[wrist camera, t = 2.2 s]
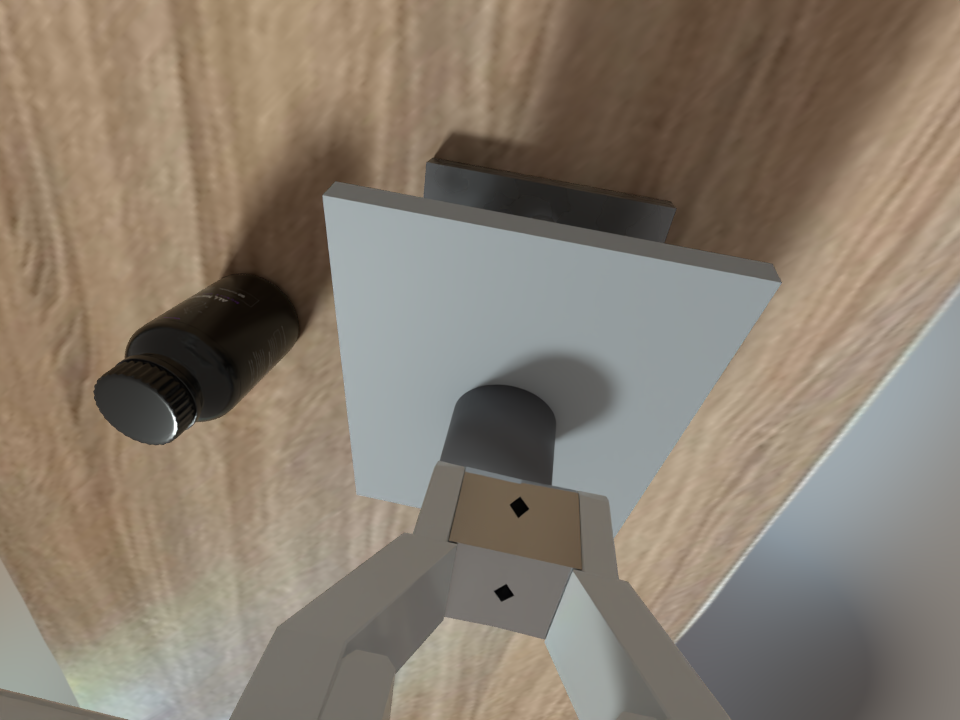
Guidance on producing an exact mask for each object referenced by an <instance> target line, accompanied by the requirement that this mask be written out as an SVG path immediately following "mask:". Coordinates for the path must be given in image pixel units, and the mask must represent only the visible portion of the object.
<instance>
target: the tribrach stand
mask: <svg viewBox="0 0 960 720" xmlns="http://www.w3.org/2000/svg"><path fill="white" fill-rule="evenodd" d="M424 198H427V199H432V200H437V201H443V202H448V203H453V204H458V205H464V206H469V207H474V208H480V209H485V210H490V211H495V212H501V213H506V214H511V215H517V216H522V217H527V218H532V219H538V220H543V221H548V222H554V223H559V224H564V225H570V226H575V227H580V228H585V229H591V230H596V231H601V232H607V233H612V234H617V235H622V236H628V237H633V238H638V239H644V240H649V241H654V242H660V243H664V242H665V239H666V237H667V234H668V231H669V228H670V225H671V223H672V220H673V217H674V214H675V211H676V209H677V208H676V207H675V206H674V205H673V204H672V202H670V201H664V200H659V199H653V198H648V197H643V196H637V195H632V194H626V193H621V192H616V191H610V190H605V189H599V188H594V187H589V186H583V185H578V184H572V183H567V182H562V181H556V180H551V179H545V178H540V177H535V176H529V175H524V174H518V173H513V172H508V171H502V170H497V169H491V168H486V167H481V166H475V165H470V164H464V163H459V162H454V161H448V160H443V159H437V158H432V159H430V160H429V161H427V163H426V175H425V186H424Z"/></svg>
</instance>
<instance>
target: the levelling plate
mask: <svg viewBox="0 0 960 720" xmlns="http://www.w3.org/2000/svg"><path fill="white" fill-rule="evenodd" d="M322 196H323V205H324V214H325V222H326V231H327V240H328V248H329V257H330V266H331V275H332V283H333V292H334V301H335V309H336V318H337V327H338V336H339V344H340V353H341V362H342V371H343V379H344V388H345V397H346V405H347V414H348V423H349V432H350V440H351V449H352V458H353V467H354V475H355V484H356V493H357V495H361V496H366V497H370V498H375V499H380V500H384V501H389V502H393V503H398V504H403V505H407V506H412V507H416V508H421V507H422V504H423V501H424V498H425V494H426V491H427V488H428V485H429V482H430V479H431V476H432V473H433V470H434V467H435V465H436V463H437V462H438V461H442V462H447V463H451V464H455V465H459V466H463V467H470V468H474V469H479V470H483V471H487V472H491V473H496V474H500V475H504V476H508V477H512V478H517V479H522V480H527V481H532V482H537V483H542V484H547V485H552V486H557V487H562V488H567V489H572V490H575V491H583V492H588V493H593V494H598V495H603V496H606V497H607V499H608V500H609V505H610V513H611V521H612V530H613V538H614V537H615V536H616V534H617V533H618V531H619V530H620V528H621V527H622V525H623V524H624V522H625V521H626V519H627V518H628V516H629V515H630V513H631V512H632V510H633V509H634V507H635V505H636V504H637V502H638V501H639V499H640V498H641V496H642V495H643V493H644V492H645V490H646V489H647V487H648V486H649V484H650V483H651V481H652V480H653V478H654V477H655V475H656V474H657V472H658V470H659V469H660V467H661V466H662V464H663V463H664V461H665V460H666V458H667V457H668V455H669V454H670V452H671V451H672V449H673V448H674V446H675V445H676V443H677V442H678V440H679V439H680V437H681V435H682V434H683V432H684V431H685V429H686V428H687V426H688V425H689V423H690V422H691V420H692V419H693V417H694V416H695V414H696V413H697V411H698V410H699V408H700V407H701V405H702V403H703V402H704V400H705V399H706V397H707V396H708V394H709V393H710V391H711V390H712V388H713V387H714V385H715V384H716V382H717V381H718V379H719V378H720V376H721V375H722V373H723V372H724V370H725V368H726V367H727V365H728V364H729V362H730V361H731V359H732V358H733V356H734V355H735V353H736V352H737V350H738V349H739V347H740V346H741V344H742V343H743V341H744V340H745V338H746V337H747V335H748V333H749V332H750V330H751V329H752V327H753V326H754V324H755V323H756V321H757V320H758V318H759V317H760V315H761V314H762V312H763V311H764V309H765V308H766V306H767V305H768V303H769V302H770V300H771V298H772V297H773V295H774V294H775V292H776V291H777V289H778V288H779V286H780V285H781V283H782V282H781V280H780V278H779V276H778V274H777V272H776V270H775V268H774V266H773V264H771V263H765V262H760V261H755V260H749V259H744V258H739V257H734V256H728V255H723V254H718V253H712V252H707V251H702V250H697V249H691V248H686V247H681V246H675V245H670V244H665V243H660V242H654V241H649V240H644V239H638V238H633V237H628V236H622V235H617V234H612V233H607V232H601V231H596V230H591V229H585V228H580V227H575V226H570V225H564V224H559V223H554V222H548V221H543V220H538V219H532V218H527V217H522V216H517V215H511V214H506V213H501V212H495V211H490V210H485V209H480V208H474V207H469V206H464V205H458V204H453V203H448V202H443V201H437V200H432V199H427V198H421V197H416V196H411V195H405V194H400V193H395V192H390V191H384V190H379V189H374V188H368V187H363V186H358V185H353V184H347V183H342V182H337V181H335V182H334V183H333V184H332V186H331V187H330V188H329V189H328V190H327V191H326V192H325V193H324V194H323V195H322ZM465 470H466V469H465Z"/></svg>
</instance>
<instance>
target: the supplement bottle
mask: <svg viewBox="0 0 960 720" xmlns="http://www.w3.org/2000/svg"><path fill="white" fill-rule="evenodd" d="M298 332H299V323H298V317H297V314H296V312H295V309H294V307H293V305H292V304H291V302H290V300H289V299H288V298H287V296H286V295H285V294H284V293H283V292H282V291H281V290H280V289H279V288H278V287H276V286H275V285H274V284H272V283H270V282H269V281H267V280H265V279H263V278H261V277H258V276H254V275H250V274H233V275H229V276H226V277H224V278H222V279H220V280H218V281H217V282H215V283H213V284H211V285H210V286H208V287H206V288H205V289H203V290H201V291H200V292H198V293H197V294H195V295H193V296H192V297H190V298H188V299H187V300H185V301H183V302H182V303H180V304H178V305H177V306H175V307H173V308H172V309H170V310H168V311H167V312H165V313H164V314H162V315H160V316H159V317H157V318H155V319H154V320H152V321H150V322H149V323H147V324H145V325H144V326H143V327H141V328H140V329H138V330H137V331H136V332H135V333H134V334H133V335H132V337H131V338H130V340H129V342H128V344H127V347H126V351H125V359H124V360H122V361H121V362H119V363H118V364H117V365H116V366H115V367H114V368H112V369H111V370H109V371H108V372H106V373H105V374H103V375H102V377H101V378H99V379H98V380H97V384H95V386H94V387H95V390H94V391H93V392H94V395H95V396H94V399H95V401H96V405H97V406H98V408H99V410H100V412H101V413H102V414H103V416H104V418H105V419H106V420H107V421H109V423H110V424H111V425H112V426H113V427H115V428H116V429H117V430H118V431H120V432H121V433H123V434H124V435H125V436H128V437H130V438H132V439H133V440H136V441H139V442H141V443H146V444H149V445H151V444H153V445H159V444H161V445H164V444H166V443H170V442H172V441H173V440H174V439H176V438H177V437H178V436H179V435H180V434H181V433H183V432H184V431H185V430H187V429H189V428H190V427H191V426H192V425H193V424H194V423H195V422H205V421H211V420H214V419H217V418H220V417H222V416H223V415H225V414H227V413H228V412H229V411H230V410H231V409H233V408H234V407H235V406H236V405H237V404H238V403H239V402H240V401H241V400H242V399H243V398H244V397H245V396H246V395H247V393H248V392H249V391H250V390H251V389H252V388H253V387H254V386H255V385H256V384H257V383H258V382H259V381H260V380H261V379H262V378H263V377H264V376H265V375H266V374H267V373H268V372H269V371H270V370H271V369H272V368H273V367H274V366H275V365H276V364H277V363H278V362H279V361H280V360H281V359H282V358H283V357H284V356H285V355H286V354H287V353H288V352H289V351H290V350H291V348H292V347H293V346H294V344H295V342H296V340H297V337H298Z"/></svg>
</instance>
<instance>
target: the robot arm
mask: <svg viewBox="0 0 960 720" xmlns="http://www.w3.org/2000/svg"><path fill="white" fill-rule="evenodd" d="M465 469H466V470H465ZM444 617H449V618H454V619H459V620H464V621H469V622H474V623H479V624H484V625H489V626H494V627H498V628H502V629H506V630H510V631H514V632H518V633H522V634H526V635H529V636H533V637H537V638H541V639H545V644H546V647H547V649H548V651H549V653H550V655H551V658H552V660H553V662H554V664H555V667H556V669H557V671H558V673H559V676H560V678H561V680H562V682H563V685H564V687H565V689H566V691H567V694H568V696H569V698H570V700H571V702H572V705H573V707H574V709H575V711H576V714H577V716H578V718H579V720H731V718H730V717H729V716H728V714H727V713H726V712H725V710H724V709H723V708H722V706H721V705H720V704H719V702H718V701H717V700H716V699H715V697H714V696H713V695H712V693H711V692H710V690H709V689H708V688H707V686H706V685H705V684H704V682H703V681H702V680H701V679H700V677H699V676H698V674H697V673H696V672H695V670H694V669H693V668H692V666H691V665H690V664H689V662H688V661H687V660H686V658H685V657H684V656H683V654H682V653H681V652H680V650H679V649H678V648H677V646H676V645H675V644H674V642H673V641H672V640H671V638H670V637H669V636H668V634H667V633H666V632H665V630H664V629H663V628H662V626H661V625H660V624H659V622H658V621H657V620H656V618H655V617H654V616H653V614H652V613H651V612H650V610H649V609H648V608H647V606H646V605H645V604H644V602H643V601H642V600H641V598H640V597H639V596H638V594H637V593H636V592H635V590H634V589H633V588H632V586H631V585H630V584H629V582H627V581H623V580H619V578H618V570H617V562H616V554H615V546H614V538H613V530H612V521H611V513H610V505H609V500H608V499H607V497H606V496H603V495H598V494H593V493H588V492H583V491H575V490H572V489H567V488H562V487H557V486H552V485H547V484H542V483H537V482H532V481H527V480H522V479H517V478H512V477H508V476H504V475H500V474H496V473H491V472H487V471H483V470H479V469H474V468H470V467H463V466H459V465H455V464H451V463H447V462H442V461H438V462H437V463H436V465H435V467H434V470H433V473H432V476H431V479H430V482H429V485H428V488H427V491H426V494H425V498H424V501H423V504H422V507H421V510H420V513H419V516H418V519H417V522H416V526H415V529H414V532H413V534H409V533H403V534H401V535H400V536H399V537H397V538H396V539H394V540H393V541H392V542H390V543H389V544H388V545H386V546H385V547H384V548H382V549H381V550H380V551H378V552H377V553H376V554H374V555H373V556H372V557H370V558H369V559H368V560H366V561H365V562H364V563H362V564H361V565H360V566H358V567H357V568H356V569H354V570H353V571H352V572H350V573H349V574H348V575H346V576H345V577H344V578H342V579H341V580H340V581H338V582H337V583H336V584H334V585H333V586H332V587H330V588H329V589H328V590H326V591H325V592H324V593H322V594H321V595H320V596H318V597H317V598H316V599H314V600H313V601H312V602H310V603H309V604H308V605H306V606H305V607H304V608H302V609H301V610H300V611H298V612H297V613H296V614H294V615H293V616H292V617H290V618H289V619H288V620H286V621H285V622H284V623H282V624H281V625H280V626H278V627H277V629H276V630H275V632H274V634H273V636H272V638H271V640H270V642H269V644H268V646H267V648H266V650H265V652H264V654H263V656H262V657H261V659H260V661H259V663H258V665H257V667H256V669H255V671H254V673H253V675H252V677H251V679H250V681H249V682H248V684H247V686H246V688H245V690H244V692H243V694H242V696H241V698H240V700H239V702H238V704H237V706H236V708H235V709H234V711H233V713H232V715H231V717H230V719H229V720H390V712H391V704H392V695H393V686H394V678H395V674H396V673H397V672H398V670H399V669H400V668H401V667H402V666H403V665H404V664H405V663H406V661H407V660H408V659H409V658H410V657H411V656H412V655H413V654H414V652H415V651H416V650H417V649H418V648H419V647H420V646H421V645H422V643H423V642H424V641H425V640H426V639H427V638H428V637H429V636H430V634H431V633H432V632H433V631H434V630H435V629H436V628H437V627H438V625H439V624H440V623H441V622H442V621H443V619H444ZM0 720H128V719H124V718H119V717H115V716H111V715H107V714H103V713H99V712H95V711H91V710H86V709H82V708H78V707H74V706H70V705H66V704H62V703H57V702H53V701H49V700H45V699H41V698H37V697H33V696H29V695H25V694H20V693H17V692H12V691H8V690H4V689H0Z"/></svg>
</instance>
